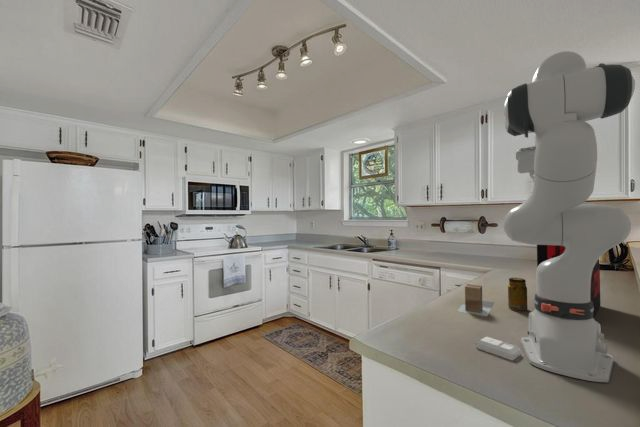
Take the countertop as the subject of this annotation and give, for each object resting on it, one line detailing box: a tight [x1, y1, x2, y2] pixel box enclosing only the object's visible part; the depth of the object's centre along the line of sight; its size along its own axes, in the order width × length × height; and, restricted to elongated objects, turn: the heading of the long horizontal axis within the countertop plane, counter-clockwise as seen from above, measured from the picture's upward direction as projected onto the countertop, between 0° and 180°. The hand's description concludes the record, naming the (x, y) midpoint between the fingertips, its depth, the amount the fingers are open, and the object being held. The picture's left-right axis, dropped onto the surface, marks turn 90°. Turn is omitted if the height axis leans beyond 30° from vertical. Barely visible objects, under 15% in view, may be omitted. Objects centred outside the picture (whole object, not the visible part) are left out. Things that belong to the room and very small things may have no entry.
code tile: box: [456, 303, 492, 317], centre depth 110 cm, size 10×10×1 cm
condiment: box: [507, 277, 528, 313], centre depth 110 cm, size 7×8×12 cm
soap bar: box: [475, 336, 522, 362], centre depth 78 cm, size 5×9×3 cm, turn 36°
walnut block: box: [464, 283, 484, 313], centre depth 110 cm, size 5×5×9 cm
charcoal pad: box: [482, 300, 495, 309], centre depth 118 cm, size 8×8×1 cm
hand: (552, 182), depth 103 cm, fingers open, 8 cm apart
